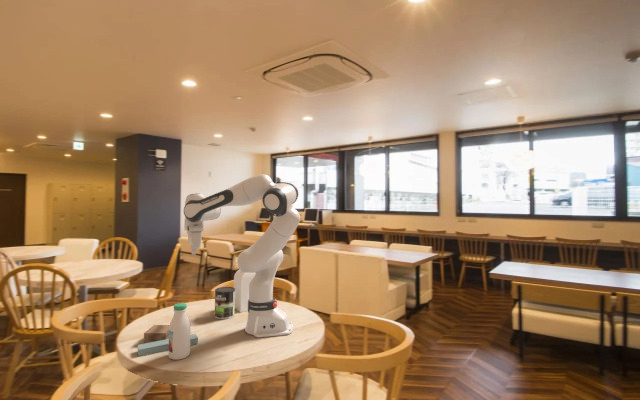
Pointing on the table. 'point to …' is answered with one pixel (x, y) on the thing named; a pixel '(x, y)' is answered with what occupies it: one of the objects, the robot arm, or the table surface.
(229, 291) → the coffee can
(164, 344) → the board
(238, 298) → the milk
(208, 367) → the table surface
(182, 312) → the milk bottle
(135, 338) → the table surface
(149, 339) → the block
